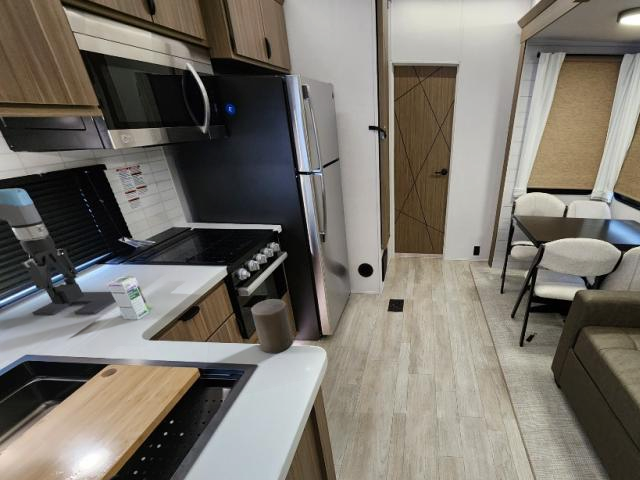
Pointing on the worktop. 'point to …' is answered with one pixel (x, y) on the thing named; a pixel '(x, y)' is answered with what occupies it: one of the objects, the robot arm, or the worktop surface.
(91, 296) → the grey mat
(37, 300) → the worktop surface
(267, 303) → the pillar candle
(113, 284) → the syrup box
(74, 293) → the black pad
